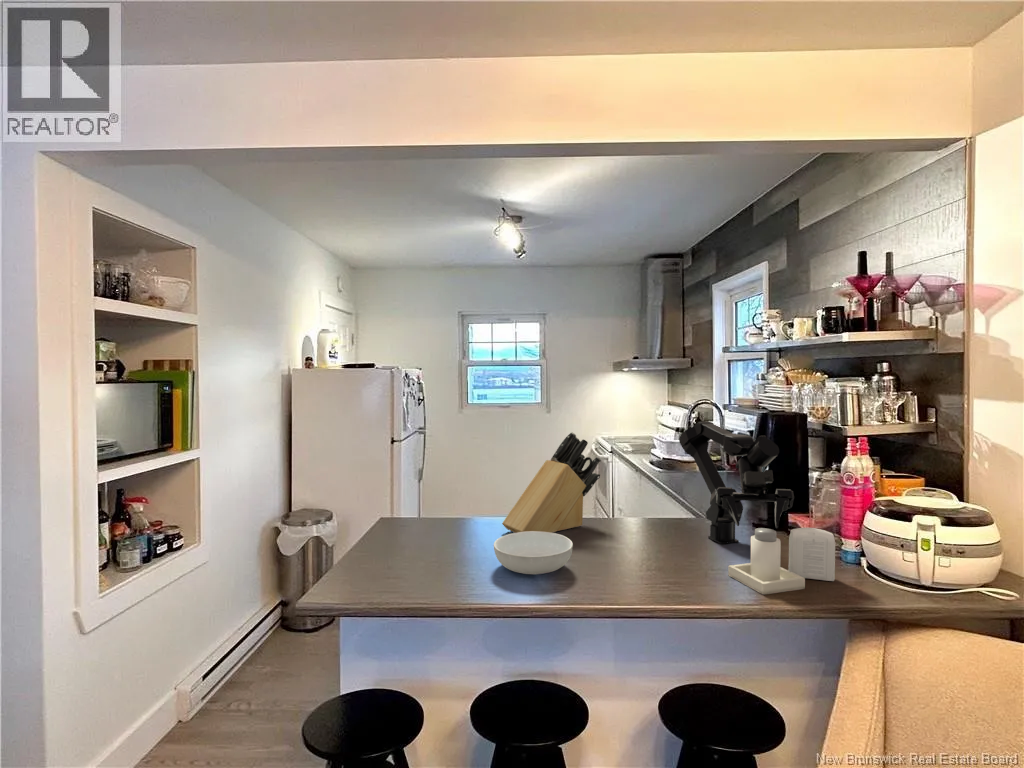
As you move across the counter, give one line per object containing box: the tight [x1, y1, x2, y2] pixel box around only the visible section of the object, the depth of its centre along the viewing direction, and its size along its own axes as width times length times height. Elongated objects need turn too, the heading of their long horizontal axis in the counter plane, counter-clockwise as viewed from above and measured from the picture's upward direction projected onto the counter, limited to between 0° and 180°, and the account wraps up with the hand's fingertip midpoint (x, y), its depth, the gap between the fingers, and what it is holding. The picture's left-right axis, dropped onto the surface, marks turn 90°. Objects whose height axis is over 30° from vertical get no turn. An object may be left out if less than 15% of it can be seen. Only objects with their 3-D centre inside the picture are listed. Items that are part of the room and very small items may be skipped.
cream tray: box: [727, 562, 806, 595], centre depth 129 cm, size 12×12×2 cm
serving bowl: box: [493, 531, 574, 575], centre depth 139 cm, size 21×21×7 cm
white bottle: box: [750, 527, 782, 582], centre depth 129 cm, size 7×7×12 cm
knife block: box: [501, 431, 602, 533], centre depth 175 cm, size 11×35×31 cm, turn 126°
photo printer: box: [788, 527, 836, 582], centre depth 132 cm, size 10×4×12 cm, turn 71°
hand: (757, 526), depth 136 cm, fingers open, 9 cm apart
